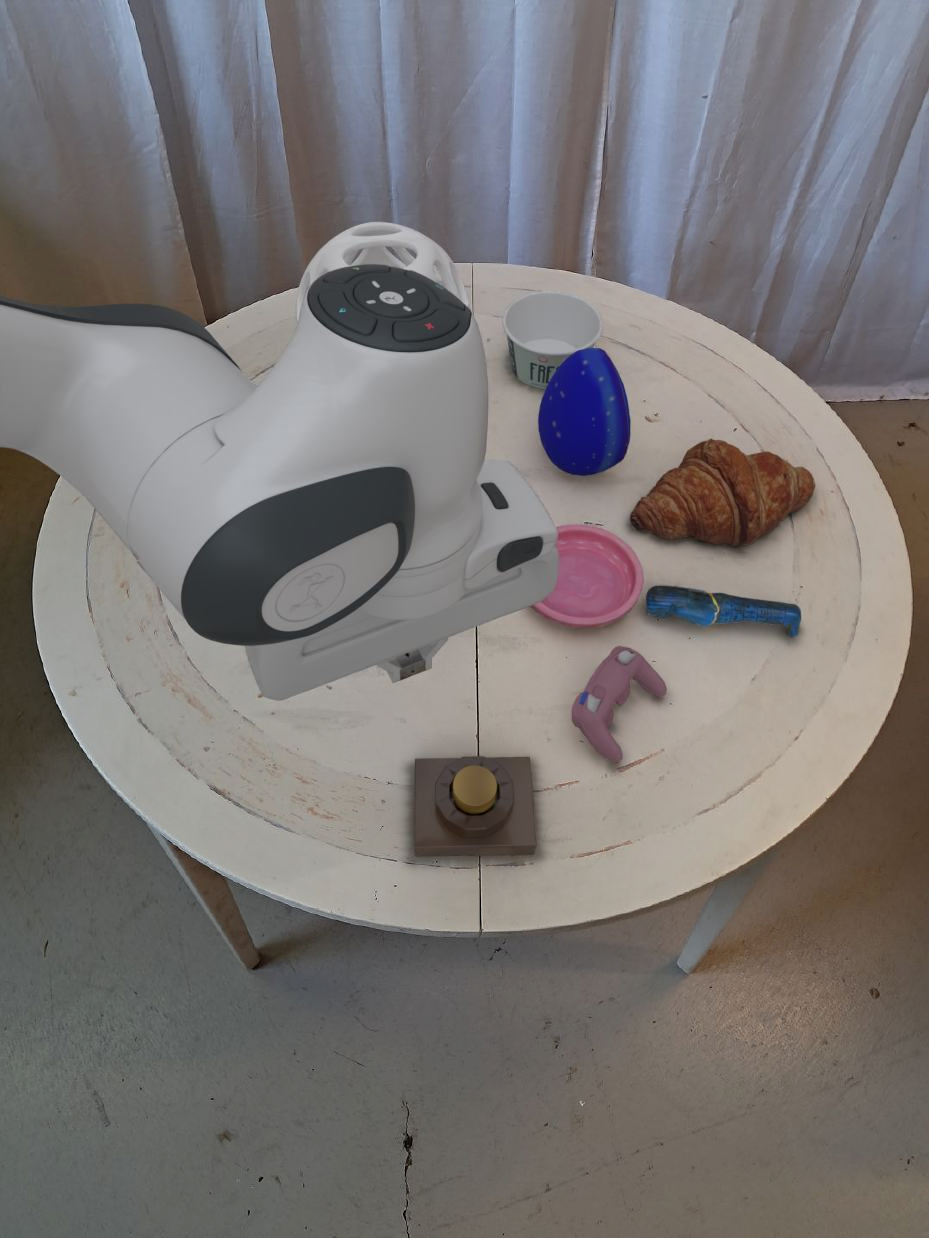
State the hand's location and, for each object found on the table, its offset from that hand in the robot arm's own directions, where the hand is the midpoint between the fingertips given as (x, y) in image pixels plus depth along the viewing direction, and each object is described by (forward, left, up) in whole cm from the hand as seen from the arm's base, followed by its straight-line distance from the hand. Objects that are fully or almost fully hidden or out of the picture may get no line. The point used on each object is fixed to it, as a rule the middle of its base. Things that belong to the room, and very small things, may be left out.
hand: (408, 668), depth 61 cm
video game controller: (+20, -1, -20) cm, 28 cm away
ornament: (+33, +29, -20) cm, 48 cm away
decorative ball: (+19, +51, -20) cm, 58 cm away
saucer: (+24, +13, -20) cm, 33 cm away
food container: (+38, +45, -20) cm, 62 cm away
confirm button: (+4, -4, -16) cm, 17 cm away
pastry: (+44, +16, -20) cm, 50 cm away
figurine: (+35, +4, -20) cm, 40 cm away
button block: (+4, -4, -20) cm, 20 cm away
